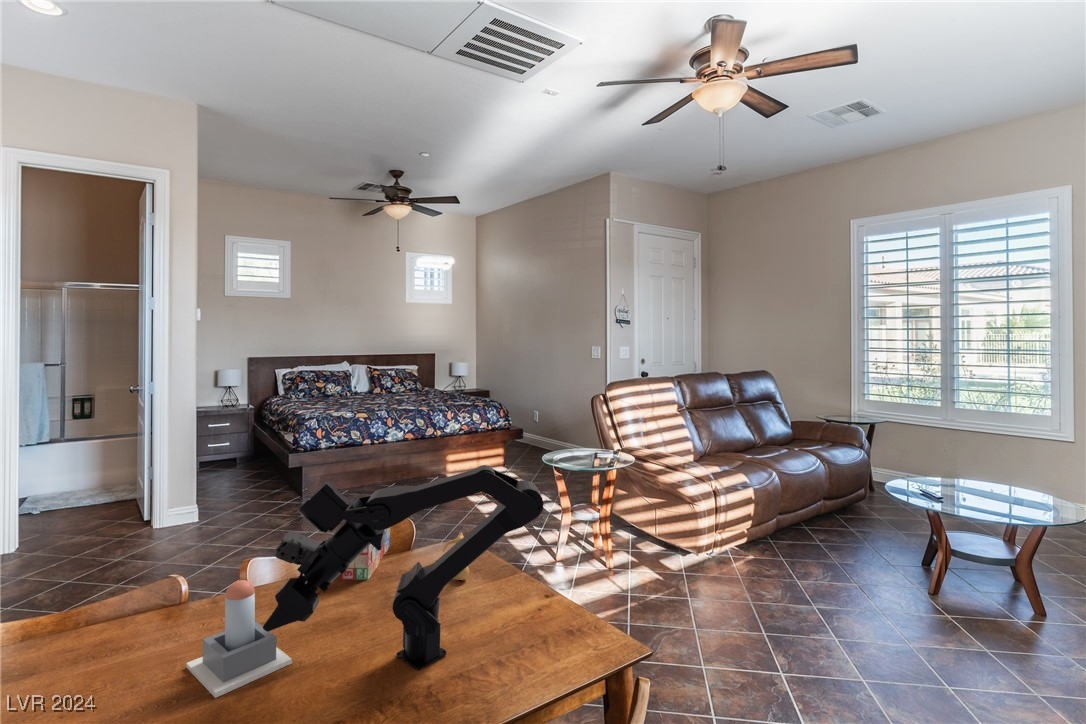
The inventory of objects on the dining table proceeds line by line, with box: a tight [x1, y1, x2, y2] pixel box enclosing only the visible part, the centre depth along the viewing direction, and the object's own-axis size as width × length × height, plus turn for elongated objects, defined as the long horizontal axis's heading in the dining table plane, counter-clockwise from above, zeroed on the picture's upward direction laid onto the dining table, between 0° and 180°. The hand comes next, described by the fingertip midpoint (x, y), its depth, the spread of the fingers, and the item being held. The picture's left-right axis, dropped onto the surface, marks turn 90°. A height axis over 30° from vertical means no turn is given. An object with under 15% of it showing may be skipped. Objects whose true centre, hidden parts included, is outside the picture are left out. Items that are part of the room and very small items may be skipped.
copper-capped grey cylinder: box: [224, 579, 256, 652], centre depth 92 cm, size 4×4×14 cm
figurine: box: [442, 532, 470, 581], centre depth 126 cm, size 8×6×12 cm
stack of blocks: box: [341, 527, 391, 581], centre depth 136 cm, size 21×6×12 cm, turn 2°
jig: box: [186, 620, 293, 699], centre depth 92 cm, size 12×12×5 cm
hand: (275, 615), depth 93 cm, fingers open, 9 cm apart
